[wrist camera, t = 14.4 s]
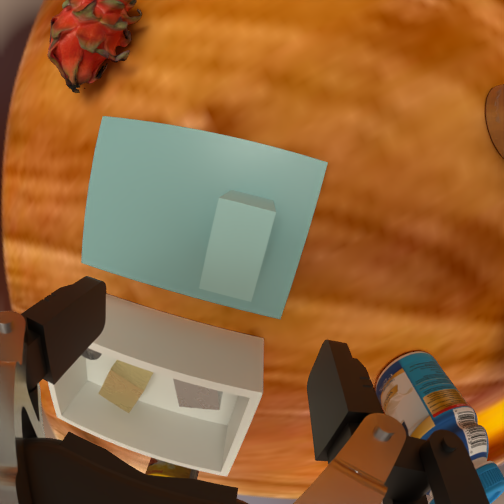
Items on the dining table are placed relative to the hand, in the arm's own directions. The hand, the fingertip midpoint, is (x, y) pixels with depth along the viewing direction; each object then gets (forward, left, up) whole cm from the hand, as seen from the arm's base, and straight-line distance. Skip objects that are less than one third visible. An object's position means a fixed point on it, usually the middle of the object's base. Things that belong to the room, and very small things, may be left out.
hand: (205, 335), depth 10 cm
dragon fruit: (+17, -15, -17) cm, 29 cm away
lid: (+5, 0, -17) cm, 18 cm away
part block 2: (0, +15, -16) cm, 21 cm away
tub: (+5, +17, -16) cm, 24 cm away
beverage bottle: (-23, +12, -17) cm, 30 cm away
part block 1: (+8, +19, -16) cm, 26 cm away
